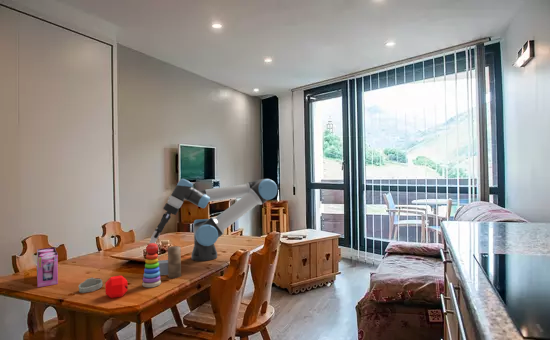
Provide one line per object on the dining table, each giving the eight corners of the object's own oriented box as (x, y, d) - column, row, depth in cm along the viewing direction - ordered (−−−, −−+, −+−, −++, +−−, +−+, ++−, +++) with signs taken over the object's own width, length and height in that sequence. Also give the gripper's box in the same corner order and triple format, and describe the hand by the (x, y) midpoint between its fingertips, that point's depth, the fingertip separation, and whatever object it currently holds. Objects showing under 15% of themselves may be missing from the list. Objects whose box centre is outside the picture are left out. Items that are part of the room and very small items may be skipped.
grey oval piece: (101, 286, 146) (101, 275, 146) (103, 289, 141) (103, 278, 141) (77, 290, 141) (77, 279, 141) (79, 294, 136) (79, 282, 136)
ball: (128, 297, 132) (127, 278, 132) (106, 301, 128) (105, 281, 128) (126, 291, 139) (126, 273, 139) (105, 294, 135) (105, 276, 135)
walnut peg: (180, 273, 162) (180, 245, 162) (181, 277, 156) (180, 248, 156) (168, 275, 160) (167, 246, 160) (168, 278, 154) (167, 249, 154)
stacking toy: (154, 288, 141) (154, 245, 141) (138, 287, 142) (137, 245, 143) (164, 282, 149) (163, 241, 149) (148, 281, 150) (148, 241, 151)
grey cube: (168, 271, 167) (168, 259, 167) (168, 274, 161) (168, 262, 161) (156, 272, 165) (156, 260, 165) (155, 276, 159) (155, 263, 159)
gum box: (58, 284, 149) (58, 255, 149) (37, 288, 144) (37, 258, 144) (55, 272, 168) (55, 246, 168) (36, 276, 163) (36, 249, 164)
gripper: (166, 201, 186) (147, 235, 182) (166, 203, 162) (143, 241, 158) (178, 207, 188) (159, 240, 184) (180, 210, 164) (158, 248, 160)
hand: (152, 241), depth 171 cm, fingers open, 13 cm apart
